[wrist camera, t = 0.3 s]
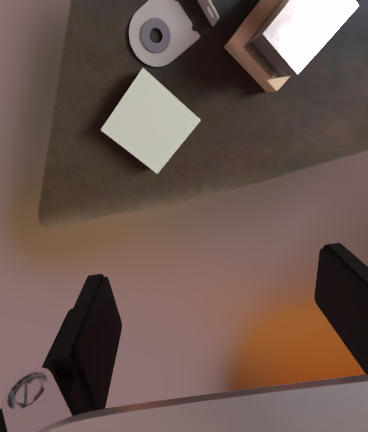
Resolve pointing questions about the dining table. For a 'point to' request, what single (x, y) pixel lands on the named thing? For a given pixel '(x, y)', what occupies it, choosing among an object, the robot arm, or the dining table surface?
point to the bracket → (165, 30)
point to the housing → (296, 33)
